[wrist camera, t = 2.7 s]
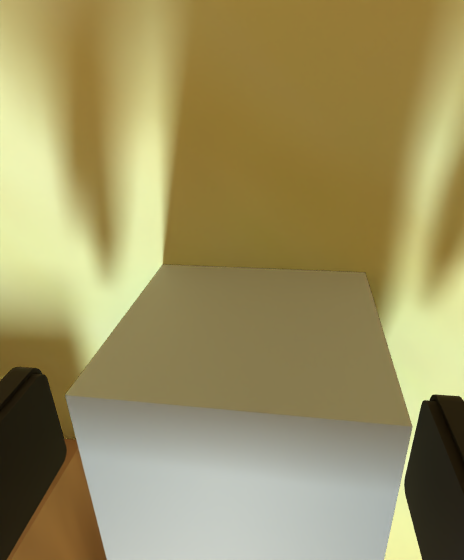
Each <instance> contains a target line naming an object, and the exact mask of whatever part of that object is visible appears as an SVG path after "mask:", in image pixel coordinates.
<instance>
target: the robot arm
mask: <svg viewBox="0 0 464 560" xmlns="http://www.w3.org/2000/svg"><path fill="white" fill-rule="evenodd" d="M66 454H67V448H66V444H65V440H64V437H63V433H62V430H61V426H60V422H59V419H58V415H57V412H56V408H55V405H54V401H53V397H52V394H51V390H50V387H49V383H48V380H47V377H46V376H45V375H43V374H42V373H41V371H40V370H39V369H37V368H25V367H15V368H13V369H12V370H10V371H9V372H8V374H7V375H6V376H5V377H4V378H3V379H2V380H1V381H0V560H7V558H8V557H9V555H10V553H11V552H12V550H13V548H14V547H15V545H16V543H17V541H18V540H19V538H20V536H21V535H22V533H23V531H24V529H25V528H26V526H27V524H28V523H29V521H30V519H31V518H32V516H33V514H34V512H35V511H36V509H37V507H38V506H39V504H40V502H41V501H42V499H43V497H44V495H45V494H46V492H47V490H48V489H49V487H50V485H51V483H52V482H53V480H54V478H55V477H56V475H57V473H58V472H59V470H60V468H61V466H62V465H63V463H64V461H65V458H66ZM404 486H405V494H406V499H407V503H408V506H409V510H410V514H411V518H412V522H413V525H414V529H415V533H416V537H417V541H418V545H419V548H420V552H421V556H422V560H464V401H463V400H462V398H461V397H459V396H447V395H432V396H431V398H430V401H426V400H425V401H423V402H422V405H421V409H420V414H419V418H418V423H417V427H416V431H415V436H414V440H413V445H412V449H411V454H410V458H409V462H408V467H407V471H406V476H405V483H404Z"/></svg>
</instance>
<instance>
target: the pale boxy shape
mask: <svg viewBox="0 0 464 560" xmlns="http://www.w3.org/2000/svg"><path fill="white" fill-rule="evenodd" d="M65 397H66V401H67V405H68V409H69V413H70V417H71V421H72V425H73V429H74V433H75V437H76V440H77V444H78V448H79V452H80V456H81V460H82V464H83V468H84V472H85V476H86V480H87V484H88V488H89V491H90V495H91V499H92V503H93V507H94V511H95V515H96V519H97V523H98V527H99V531H100V535H101V538H102V542H103V546H104V550H105V554H106V558H107V560H384V557H385V552H386V548H387V543H388V538H389V534H390V529H391V524H392V520H393V515H394V510H395V506H396V501H397V496H398V492H399V487H400V482H401V478H402V473H403V468H404V463H405V459H406V454H407V449H408V445H409V440H410V435H411V431H412V424H411V421H410V417H409V414H408V411H407V407H406V404H405V401H404V398H403V394H402V391H401V388H400V385H399V381H398V378H397V375H396V371H395V368H394V365H393V362H392V358H391V355H390V352H389V349H388V345H387V342H386V339H385V335H384V332H383V329H382V326H381V322H380V319H379V316H378V313H377V309H376V306H375V303H374V299H373V296H372V293H371V290H370V286H369V283H368V280H367V277H366V273H365V272H344V271H318V270H292V269H266V268H240V267H215V266H189V265H162V266H161V267H160V269H159V270H158V271H157V273H156V274H155V275H154V277H153V278H152V279H151V281H150V282H149V283H148V285H147V286H146V287H145V289H144V290H143V291H142V293H141V294H140V295H139V297H138V298H137V300H136V301H135V302H134V304H133V305H132V306H131V308H130V309H129V310H128V312H127V313H126V314H125V316H124V317H123V318H122V320H121V321H120V322H119V324H118V325H117V326H116V328H115V329H114V330H113V332H112V333H111V334H110V336H109V337H108V338H107V340H106V341H105V342H104V344H103V345H102V346H101V348H100V349H99V350H98V352H97V353H96V354H95V356H94V357H93V358H92V360H91V361H90V362H89V364H88V365H87V366H86V368H85V369H84V370H83V372H82V373H81V374H80V376H79V377H78V378H77V380H76V381H75V382H74V384H73V385H72V386H71V388H70V389H69V390H68V392H67V393H66V394H65Z"/></svg>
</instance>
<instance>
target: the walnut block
mask: <svg viewBox="0 0 464 560" xmlns="http://www.w3.org/2000/svg"><path fill="white" fill-rule="evenodd" d="M64 440H65V444H66V448H67V454H66V458H65V461H64V463H63V465H62V466H61V468H60V470H59V472H58V473H57V475H56V477H55V478H54V480H53V482H52V483H51V485H50V487H49V489H48V490H47V492H46V494H45V495H44V497H43V499H42V501H41V502H40V504H39V506H38V507H37V509H36V511H35V512H34V514H33V516H32V518H31V519H30V521H29V523H28V524H27V526H26V528H25V529H24V531H23V533H22V535H21V536H20V538H19V540H18V541H17V543H16V545H15V547H14V548H13V550H12V552H11V553H10V555H9V557H8V558H7V560H107V558H106V554H105V550H104V546H103V542H102V538H101V535H100V531H99V527H98V523H97V519H96V515H95V511H94V507H93V503H92V499H91V495H90V491H89V488H88V484H87V480H86V476H85V472H84V468H83V464H82V460H81V456H80V452H79V448H78V444H77V440H76V439H64Z"/></svg>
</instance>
